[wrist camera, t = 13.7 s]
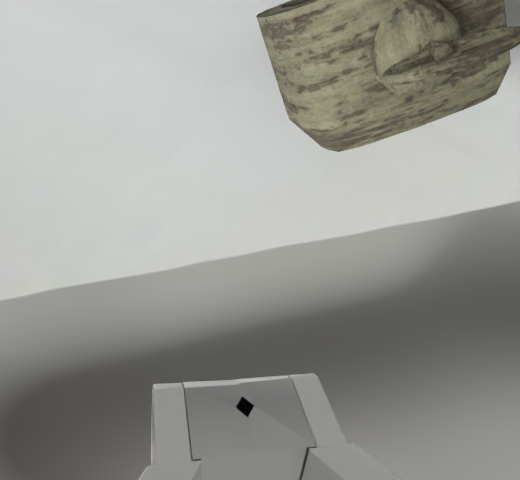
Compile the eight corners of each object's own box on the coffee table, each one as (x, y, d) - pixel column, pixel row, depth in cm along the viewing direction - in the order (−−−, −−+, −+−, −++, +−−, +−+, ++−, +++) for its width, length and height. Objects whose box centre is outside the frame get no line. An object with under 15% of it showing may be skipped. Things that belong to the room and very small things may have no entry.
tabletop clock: (404, -45, 42) (633, -109, 20) (424, 61, 46) (634, 108, 24) (245, 16, 43) (291, 21, 21) (277, 115, 47) (346, 211, 24)
